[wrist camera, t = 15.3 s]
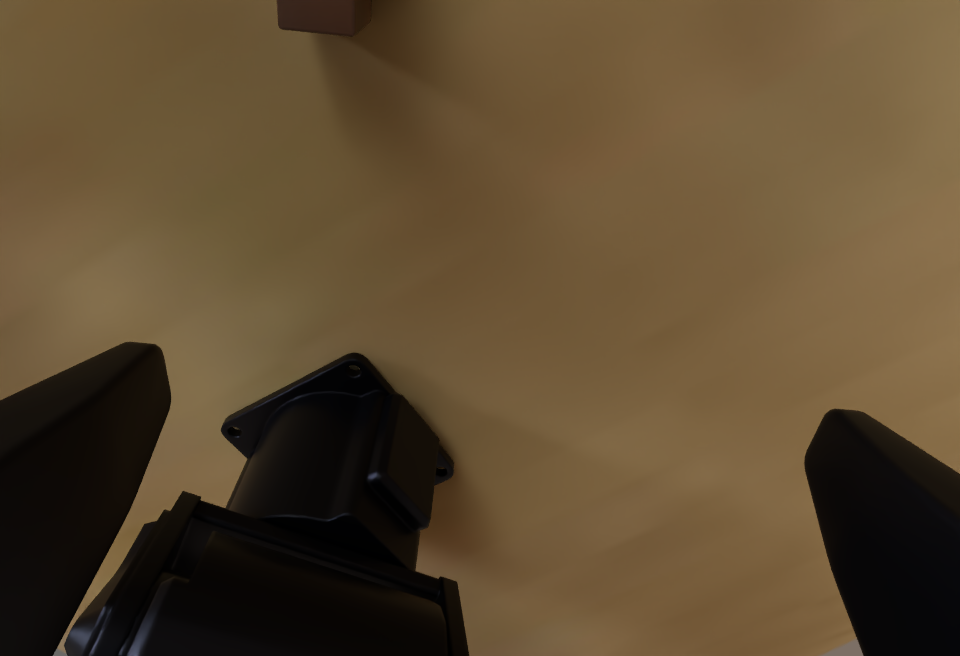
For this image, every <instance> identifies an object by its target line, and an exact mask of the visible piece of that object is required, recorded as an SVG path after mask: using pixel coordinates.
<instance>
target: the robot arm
mask: <svg viewBox="0 0 960 656" xmlns="http://www.w3.org/2000/svg"><path fill="white" fill-rule="evenodd" d="M351 365H354V366H357V367H359V368H360V370H353V369H351V368H350V367H349V366H351ZM170 404H171V391H170V386H169V381H168V375H167V370H166V365H165V360H164V355H163V352H162V350H161V348H160V347H159V346H157V345H156V344H148V343H138V342H125V343H122V344H120V345H118V346H116V347H114V348H112V349H109V350H107V351H105V352H103V353H101V354H99V355H97V356H94V357H92V358H90V359H88V360H86V361H84V362H82V363H79V364H77V365H75V366H73V367H71V368H69V369H67V370H64V371H62V372H60V373H58V374H56V375H54V376H52V377H49V378H47V379H45V380H43V381H41V382H39V383H37V384H35V385H32V386H30V387H28V388H26V389H24V390H22V391H20V392H17V393H15V394H13V395H11V396H9V397H7V398H5V399H2V400H0V656H53V654H54V652H55V651H56V649H57V647H58V645H59V643H60V641H61V639H62V637H63V635H64V634H65V632H66V630H67V628H68V626H69V624H70V622H71V620H72V619H73V617H74V615H75V613H76V611H77V609H78V607H79V605H80V604H81V602H82V600H83V598H84V596H85V594H86V592H87V590H88V589H89V587H90V585H91V583H92V581H93V579H94V577H95V575H96V573H97V572H98V570H99V568H100V566H101V564H102V562H103V560H104V558H105V557H106V555H107V553H108V551H109V549H110V547H111V545H112V543H113V542H114V540H115V538H116V536H117V534H118V532H119V530H120V528H121V527H122V525H123V523H124V521H125V519H126V517H127V515H128V513H129V511H130V508H131V506H132V504H133V501H134V499H135V497H136V494H137V492H138V489H139V487H140V484H141V482H142V479H143V476H144V474H145V471H146V469H147V466H148V464H149V461H150V459H151V456H152V453H153V451H154V448H155V446H156V443H157V441H158V438H159V435H160V433H161V430H162V428H163V425H164V423H165V420H166V417H167V415H168V412H169V409H170ZM233 427H237V428H239V429H240V430H237V429H235V428H233ZM221 432H222V434H223V436H224V437H225V438H226V439H227V440H228V441H229V442H230V443H231V444H233V445H234V446H235V447H236V448H237V449H238V450H239V451H240V452H241V453H242V454H243V455H244V456H245V457H246V458H247V461H246V463H245V466H244V468H243V470H242V472H241V475H240V477H239V479H238V481H237V483H236V486H235V488H234V490H233V492H232V495H231V497H230V499H229V501H228V503H227V506H226V508H223V507H220V506H216V505H213V504H210V503H207V502H204V501H201V497H200V496H197V495H194V494H191V493H188V492H185V491H183V492H182V493H181V495H180V497H179V498H178V500H177V501H176V503H175V505H174V506H173V508H172V510H171V511H168V510H164V511H163V512H162V514H161V516H160V517H159V519H158V520H157V521H155V522H151V523H146V524H144V526H143V528H142V529H141V531H140V533H139V535H138V536H137V538H136V540H135V542H134V544H133V545H132V547H131V549H130V551H129V552H128V554H127V556H126V557H125V559H124V561H123V563H122V564H121V566H120V567H119V569H118V570H117V572H116V573H115V574H114V576H113V577H112V578H111V580H110V581H109V582H108V583H107V584H106V586H105V587H104V588H103V589H102V590H101V592H100V593H99V594H98V595H97V596H96V598H95V599H94V600H93V601H92V602H91V603H90V605H89V606H88V607H87V608H86V609H85V611H84V612H83V613H82V614H81V615H80V617H79V618H78V619H77V620H76V622H75V624H74V625H73V627H72V629H71V631H70V633H69V635H68V637H67V639H66V642H65V645H64V647H65V650H66V653H67V655H68V656H469V652H468V646H467V639H466V633H465V627H464V621H463V615H462V609H461V602H460V596H459V590H458V584H457V582H456V581H453V580H450V579H447V578H444V577H441V576H440V577H439V579H437V578H434V577H431V576H428V575H425V574H422V573H419V572H416V571H415V570H416V562H417V553H418V545H419V537H420V530H422V529H425V528H427V527H428V526H429V523H430V519H431V511H432V502H433V493H434V485H437V484H439V483H441V482H444V481H446V480H448V479H450V478H451V477H452V476H453V473H454V462H453V460H452V459H451V457H450V456H449V455H448V454H447V453H446V451H445V450H444V449H443V448H442V447H441V445H440V444H439V438H438V437H437V436H436V435H435V433H434V432H433V431H432V430H431V429H430V427H429V426H428V425H427V424H426V423H425V421H424V420H423V419H422V418H421V417H420V415H419V414H418V413H417V412H416V411H415V410H414V408H413V407H412V406H411V405H410V404H409V402H408V401H407V400H406V399H405V398H404V396H402V395H400V394H398V393H396V392H395V391H394V390H393V389H392V387H391V386H390V385H389V384H388V383H387V381H386V380H385V379H384V378H383V377H382V376H381V374H380V373H379V372H378V371H377V370H376V368H375V367H374V366H373V365H372V364H371V362H370V361H369V360H368V359H367V358H366V357H365V356H363V355H361V354H359V353H350V354H347V355H345V356H343V357H341V358H339V359H337V360H335V361H333V362H331V363H329V364H328V365H326V366H324V367H322V368H320V369H318V370H316V371H314V372H312V373H310V374H308V375H306V376H305V377H303V378H301V379H299V380H297V381H295V382H293V383H291V384H289V385H287V386H285V387H283V388H282V389H280V390H278V391H276V392H274V393H272V394H270V395H268V396H266V397H264V398H262V399H260V400H259V401H257V402H255V403H253V404H251V405H249V406H247V407H245V408H243V409H241V410H239V411H237V412H236V413H234V414H232V415H230V416H228V417H227V418H226V419H225V421H224V423H223V425H222V428H221ZM804 464H805V472H806V476H807V480H808V484H809V487H810V491H811V495H812V499H813V503H814V507H815V510H816V514H817V518H818V522H819V526H820V530H821V534H822V537H823V541H824V545H825V549H826V553H827V556H828V560H829V563H830V566H831V570H832V573H833V575H834V578H835V581H836V584H837V587H838V590H839V592H840V595H841V597H842V600H843V603H844V605H845V608H846V611H847V613H848V616H849V618H850V621H851V624H852V626H853V629H854V632H855V634H856V637H857V640H858V642H859V645H860V647H861V650H862V653H863V655H864V656H960V474H959V473H958V472H956V471H954V470H953V469H951V468H950V467H948V466H947V465H945V464H944V463H942V462H940V461H939V460H937V459H936V458H934V457H933V456H931V455H930V454H928V453H926V452H925V451H923V450H922V449H920V448H919V447H917V446H916V445H914V444H912V443H911V442H909V441H908V440H906V439H905V438H903V437H902V436H900V435H898V434H897V433H895V432H894V431H892V430H891V429H889V428H888V427H886V426H884V425H883V424H881V423H880V422H878V421H877V420H875V419H874V418H872V417H870V416H869V415H867V414H866V413H864V412H861V411H855V410H844V409H832V410H830V411H828V412H827V413H826V414H825V415H824V417H823V419H822V421H821V423H820V425H819V427H818V429H817V431H816V433H815V435H814V437H813V439H812V441H811V443H810V445H809V447H808V449H807V452H806V455H805V462H804ZM437 467H444V468H445V469H439V468H437Z"/></svg>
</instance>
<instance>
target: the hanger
mask: <svg viewBox="0 0 960 656" xmlns="http://www.w3.org/2000/svg"><path fill="white" fill-rule="evenodd" d="M277 14H278V26H279V28H280V29H283V30H292V31H301V32H311V33H320V34H329V35H338V36H348V37H353V36H355V35H356V34H357V33H358V32H360V31H361V30H362V29H363V28H364V27H365V26H366V25H367V24H368V23H369V22H370V21H371V0H277Z"/></svg>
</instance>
